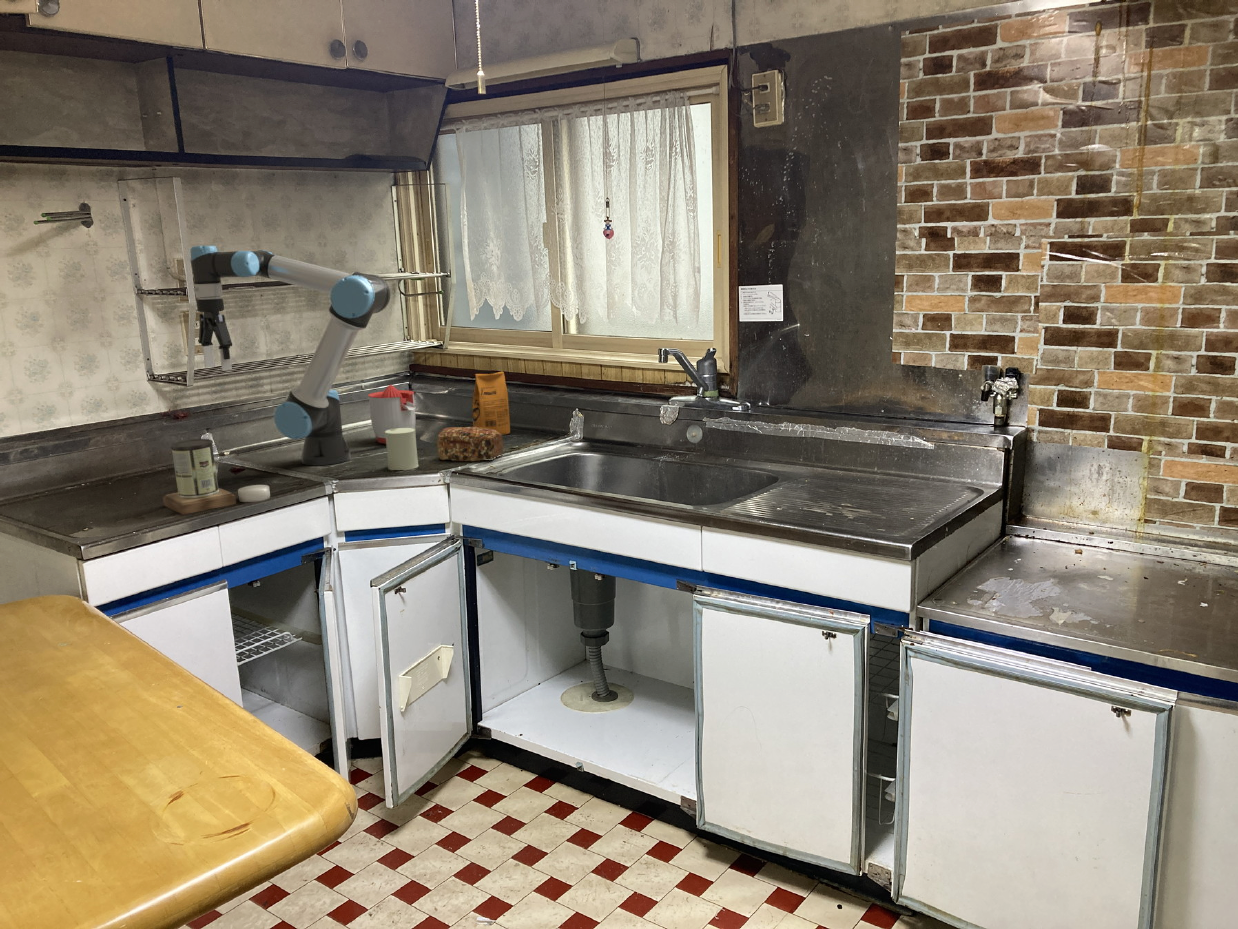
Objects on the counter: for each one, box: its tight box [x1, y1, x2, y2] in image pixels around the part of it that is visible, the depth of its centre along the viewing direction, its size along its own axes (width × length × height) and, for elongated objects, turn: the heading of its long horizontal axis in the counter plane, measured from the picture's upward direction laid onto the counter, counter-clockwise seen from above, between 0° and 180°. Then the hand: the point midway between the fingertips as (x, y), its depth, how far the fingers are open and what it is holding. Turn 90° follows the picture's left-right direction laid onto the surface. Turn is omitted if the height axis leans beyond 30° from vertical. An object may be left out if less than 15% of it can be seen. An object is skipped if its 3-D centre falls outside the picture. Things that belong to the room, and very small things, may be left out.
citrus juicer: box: [367, 384, 417, 445], centre depth 336 cm, size 16×17×20 cm
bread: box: [436, 426, 504, 462], centre depth 307 cm, size 19×11×10 cm, turn 76°
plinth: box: [162, 487, 237, 516], centre depth 261 cm, size 14×14×3 cm
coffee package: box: [472, 371, 511, 436], centre depth 343 cm, size 10×12×22 cm
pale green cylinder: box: [385, 428, 420, 471], centre depth 297 cm, size 9×9×12 cm
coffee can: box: [170, 438, 219, 499], centre depth 259 cm, size 10×10×14 cm
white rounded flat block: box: [237, 484, 271, 503], centre depth 266 cm, size 8×8×3 cm
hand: (218, 368), depth 296 cm, fingers open, 13 cm apart
